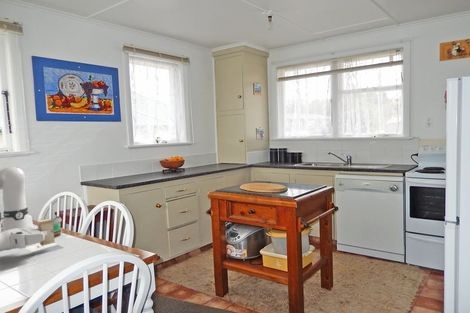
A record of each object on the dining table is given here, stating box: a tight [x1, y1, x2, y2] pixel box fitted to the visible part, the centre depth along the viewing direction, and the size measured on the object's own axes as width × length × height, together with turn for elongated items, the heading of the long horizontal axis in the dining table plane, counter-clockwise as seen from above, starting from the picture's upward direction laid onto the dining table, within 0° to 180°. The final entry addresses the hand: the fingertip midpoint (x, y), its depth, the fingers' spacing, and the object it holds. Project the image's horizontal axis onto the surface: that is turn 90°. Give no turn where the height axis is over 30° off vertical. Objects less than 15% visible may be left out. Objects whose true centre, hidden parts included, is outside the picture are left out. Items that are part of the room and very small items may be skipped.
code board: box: [24, 242, 65, 256], centre depth 169 cm, size 19×12×1 cm, turn 48°
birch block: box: [36, 218, 56, 246], centre depth 164 cm, size 5×5×11 cm
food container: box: [50, 215, 63, 239], centre depth 187 cm, size 12×6×10 cm, turn 168°
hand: (47, 230), depth 165 cm, fingers closed on birch block, 5 cm apart
